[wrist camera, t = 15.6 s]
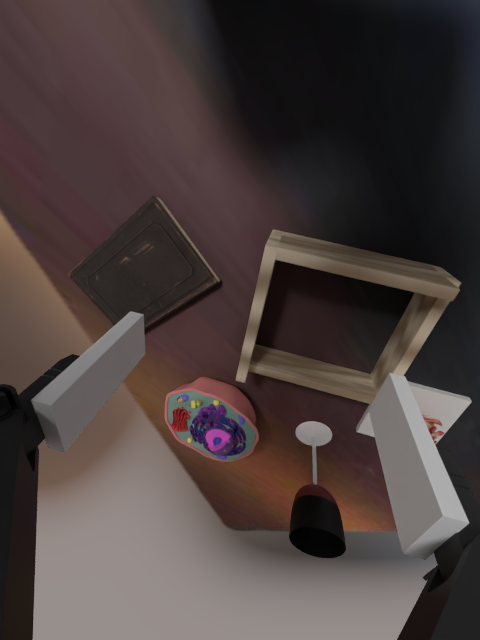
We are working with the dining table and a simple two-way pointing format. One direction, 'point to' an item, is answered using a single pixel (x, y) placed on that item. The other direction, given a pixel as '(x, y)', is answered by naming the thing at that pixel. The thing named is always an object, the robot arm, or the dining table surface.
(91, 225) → the dining table surface
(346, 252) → the frame
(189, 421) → the cell model
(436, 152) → the dining table surface
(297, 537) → the wineglass
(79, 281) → the hardcover book
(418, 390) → the tile
